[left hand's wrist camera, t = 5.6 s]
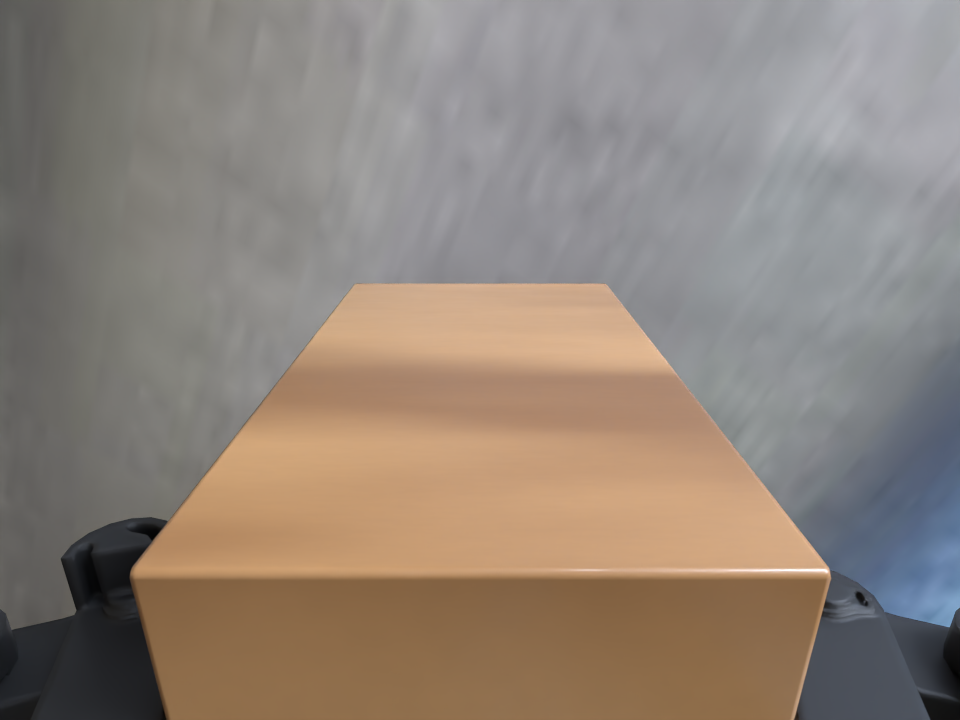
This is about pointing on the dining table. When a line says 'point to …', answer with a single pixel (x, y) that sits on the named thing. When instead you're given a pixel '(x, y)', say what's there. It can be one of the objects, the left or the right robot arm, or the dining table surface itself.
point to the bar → (480, 531)
